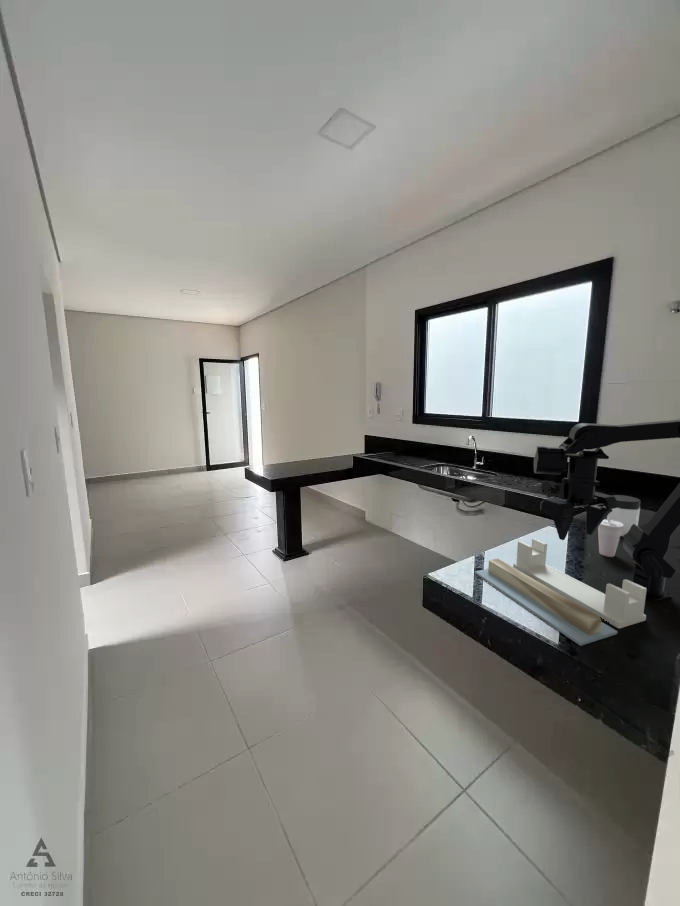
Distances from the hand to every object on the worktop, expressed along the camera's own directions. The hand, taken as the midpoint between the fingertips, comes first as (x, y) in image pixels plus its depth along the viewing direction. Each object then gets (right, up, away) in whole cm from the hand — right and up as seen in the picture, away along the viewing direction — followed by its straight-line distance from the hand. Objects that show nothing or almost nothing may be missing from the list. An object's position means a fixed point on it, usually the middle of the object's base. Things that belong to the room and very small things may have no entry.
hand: (575, 536), depth 91 cm
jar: (+37, -6, +33) cm, 50 cm away
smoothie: (+20, -9, +17) cm, 28 cm away
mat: (-13, -13, -6) cm, 19 cm away
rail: (-13, -13, -6) cm, 19 cm away
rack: (-3, -13, -2) cm, 13 cm away
